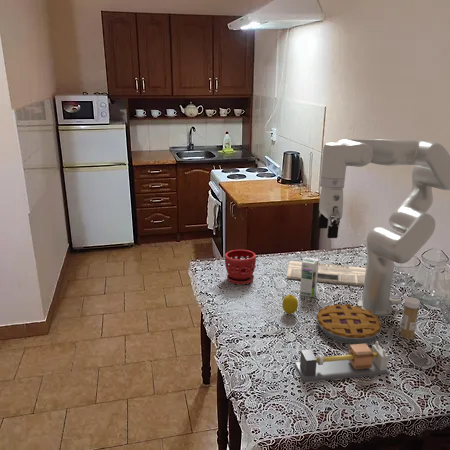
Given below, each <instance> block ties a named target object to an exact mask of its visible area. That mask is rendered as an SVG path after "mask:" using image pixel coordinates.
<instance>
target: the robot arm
mask: <svg viewBox="0 0 450 450" xmlns="http://www.w3.org/2000/svg"><path fill="white" fill-rule="evenodd" d="M321 158H322V159H321V171H320V182H319V187H321V189H320V195H319V203H318V206H319V207H318V211H319V213H318V223H317V228H318V229H327V234H326V235H327V236H326V237H327V239H338V236H339V227H340V224H341V219H343V211H344V188H345V181H346V173H347V172H346V170H347V167H357V168H358V167H359V168H362V167H365V166H368V165H369V164H374V165H379V166H387V167H388V166H393V167H395V166H413V168H412V172H411V189H410V192H409V194H408V195H407V196H406V198H405V199H403V201H402V202H401V203H400V204H399V205H398V206H397V207H396V209H395V210H393V212H392V213H391V214H390V216H389V218H388V225H389V226H390V227H391V228H392V229H393V230H391V229H389V228H387V227H384V226H377V227H374V228H372V229H371V230H369V232H368V234H367V236H366V241H365V242H366V243H365V244H366V245H365V246H366V265H365V266H366V267H365V268H366V272H365V280H364V286H363V290H362V298H361V299H359V300H358V301H357V305H358V306H360V307H362V309H364V310H369V311H371V312H372V314H373V315H376V316H377V317H386V316H389V315H391V314H392V313H393V309H394V308H393V306H394V305H401V304H402V299H401V298H395V296H391V292H392V283H393V275H394V272H395V271H394V270H395V263H396V264H400V265H401V264H405V263H408V262H409V261H411V259H412V258H413V257H415V255H416V254H418V252H419V251H420V250H421V249H422V247H424V246H425V244H426V243H427V242H428V240H430V239H431V237H432V236H433V234H434V232H435V229H436V220H435V218H434V217H433V216H432V215H431V214H429V213H428V210H430V208H431V207H432V205H433V201H434V198H433V188H434V189H438V190H442V191H450V152H449V151H448V150H447V149H446V147H444V145H443V144H441V143H439V142H435V141H428V140H422V139H363V138H362V139H359V138H357V139H356V138H354V139H353V138H350V139H340V140H338V141H337V142H327V143H325V144H324V145H323V149H322V157H321ZM394 230H395V231H394ZM357 305H356V306H357Z"/></svg>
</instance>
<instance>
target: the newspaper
mask: <svg viewBox="0 0 450 450" xmlns="http://www.w3.org/2000/svg"><path fill="white" fill-rule="evenodd" d="M301 269H302V261H294V260H289V263H288V267H287V272H286V279H290V280H298V281H301ZM365 272H366V267H357V266H349V265H348V266H347V265H340V264H339V265H338V264H337V265H336V264H326V263H318V275H317V283H318V282H319V283H331V284H340V285H349V286H358V287H359V286H360V287H364V280H365Z"/></svg>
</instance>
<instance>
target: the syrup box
mask: <svg viewBox="0 0 450 450" xmlns="http://www.w3.org/2000/svg"><path fill="white" fill-rule="evenodd" d="M319 259H320V258H319ZM319 259H317V258H311V257H306V256H305V257H304V258H303V260H302V261H301V262H302V269H301V280H300V286H299V287H300V288H299V289H300V290H299V295H300V296H304V297H309V298H314V297H315V295H316V293H317V287H318V286H317V284H318V281H317V275H318V264H319V262H320V261H319Z"/></svg>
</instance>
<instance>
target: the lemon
mask: <svg viewBox="0 0 450 450" xmlns="http://www.w3.org/2000/svg"><path fill="white" fill-rule="evenodd" d="M281 306H282V310H283V311H284V313H286V314H288V315H293V314H294V313H295V312H296V311H297V309H298V307H299V305H298V299H297V298H296V296H294V295H293V294H287V295H286V296H285V297H284V298H283V299H282V304H281Z"/></svg>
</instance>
